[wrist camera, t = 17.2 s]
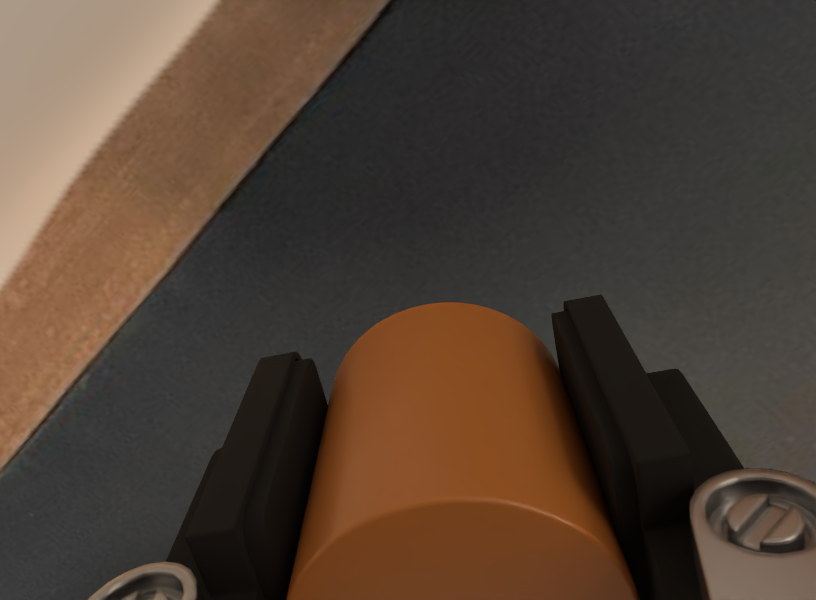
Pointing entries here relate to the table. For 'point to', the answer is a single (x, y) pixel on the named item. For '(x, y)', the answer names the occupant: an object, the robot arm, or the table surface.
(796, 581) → the robot arm
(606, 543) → the orange cylinder
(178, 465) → the table surface
